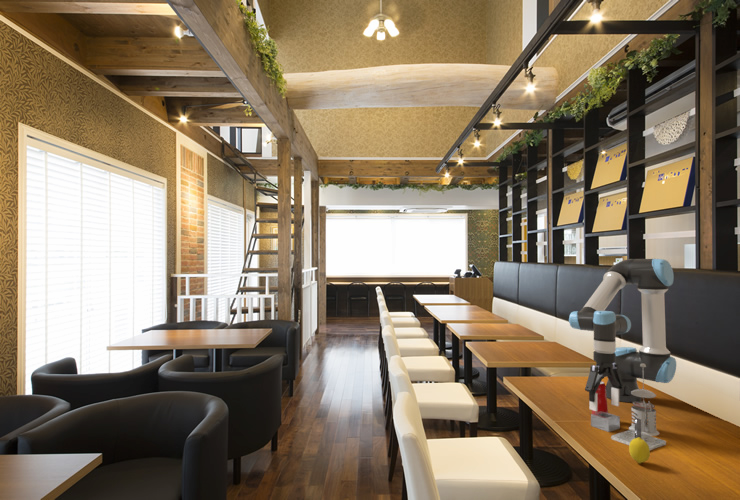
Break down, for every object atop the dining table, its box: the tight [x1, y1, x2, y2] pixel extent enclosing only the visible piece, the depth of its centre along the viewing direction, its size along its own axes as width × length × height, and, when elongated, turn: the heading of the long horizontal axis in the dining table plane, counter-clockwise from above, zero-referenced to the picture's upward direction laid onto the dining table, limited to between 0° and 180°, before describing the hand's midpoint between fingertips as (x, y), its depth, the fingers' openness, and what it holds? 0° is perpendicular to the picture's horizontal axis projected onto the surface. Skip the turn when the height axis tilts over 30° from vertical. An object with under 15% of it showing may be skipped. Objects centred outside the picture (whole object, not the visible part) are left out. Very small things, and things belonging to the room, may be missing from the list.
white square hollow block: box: [590, 411, 621, 433], centre depth 168 cm, size 7×7×4 cm
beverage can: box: [591, 380, 609, 414], centre depth 176 cm, size 6×6×15 cm
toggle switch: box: [610, 419, 667, 451], centre depth 154 cm, size 12×12×8 cm
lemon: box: [628, 437, 651, 464], centre depth 137 cm, size 6×6×8 cm
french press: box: [628, 363, 660, 437], centre depth 164 cm, size 10×12×25 cm
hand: (604, 407), depth 168 cm, fingers open, 13 cm apart
